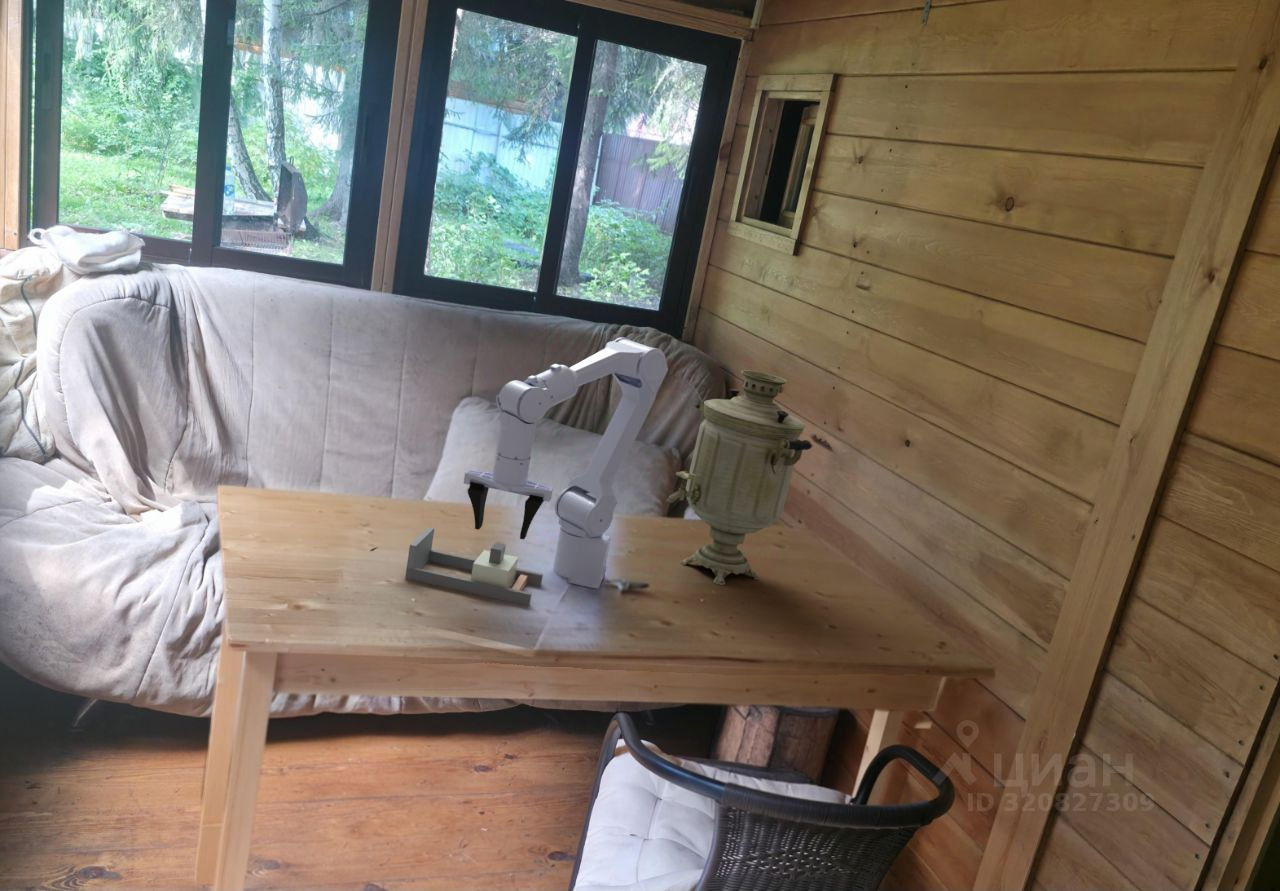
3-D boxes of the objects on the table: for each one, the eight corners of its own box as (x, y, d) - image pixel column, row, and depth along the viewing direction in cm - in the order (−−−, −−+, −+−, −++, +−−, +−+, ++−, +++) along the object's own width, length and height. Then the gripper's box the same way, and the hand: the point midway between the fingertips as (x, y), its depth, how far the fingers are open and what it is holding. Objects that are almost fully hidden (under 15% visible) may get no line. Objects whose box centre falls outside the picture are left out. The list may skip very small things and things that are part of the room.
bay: (541, 586, 175) (547, 550, 174) (526, 612, 164) (533, 574, 162) (425, 561, 177) (430, 524, 175) (402, 585, 165) (407, 546, 163)
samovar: (621, 537, 209) (658, 349, 199) (735, 545, 218) (775, 365, 208) (670, 597, 182) (715, 383, 172) (797, 603, 191) (847, 400, 181)
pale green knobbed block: (514, 581, 173) (520, 543, 171) (504, 596, 166) (511, 557, 165) (480, 574, 173) (486, 536, 172) (469, 588, 167) (475, 549, 165)
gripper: (463, 451, 161) (451, 530, 164) (551, 469, 160) (538, 549, 163) (475, 441, 168) (463, 518, 171) (560, 459, 167) (546, 535, 170)
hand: (500, 532), depth 168 cm, fingers open, 7 cm apart
